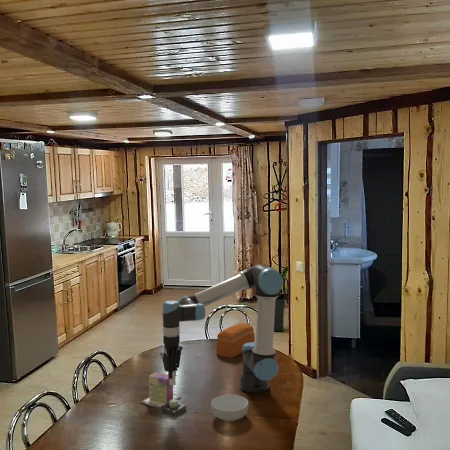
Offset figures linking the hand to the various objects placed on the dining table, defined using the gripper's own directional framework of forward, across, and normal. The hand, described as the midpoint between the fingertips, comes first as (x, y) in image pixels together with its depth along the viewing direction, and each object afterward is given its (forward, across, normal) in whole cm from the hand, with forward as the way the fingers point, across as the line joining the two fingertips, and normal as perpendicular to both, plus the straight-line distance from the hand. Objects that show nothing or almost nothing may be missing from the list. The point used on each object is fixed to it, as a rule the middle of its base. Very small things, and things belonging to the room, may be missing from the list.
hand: (172, 384), depth 223 cm
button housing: (+13, 0, 0) cm, 13 cm away
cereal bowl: (+13, -10, +25) cm, 30 cm away
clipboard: (+13, -5, -13) cm, 19 cm away
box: (+12, -5, -12) cm, 18 cm away
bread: (+13, -82, -22) cm, 86 cm away
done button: (+11, 0, 0) cm, 11 cm away
